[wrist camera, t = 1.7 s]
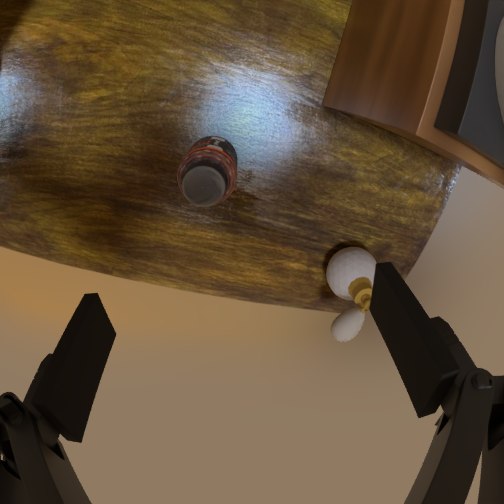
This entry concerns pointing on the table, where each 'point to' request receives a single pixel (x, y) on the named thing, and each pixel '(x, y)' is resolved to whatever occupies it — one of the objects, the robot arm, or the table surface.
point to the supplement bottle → (208, 172)
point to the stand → (403, 73)
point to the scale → (477, 82)
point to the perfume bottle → (351, 288)
